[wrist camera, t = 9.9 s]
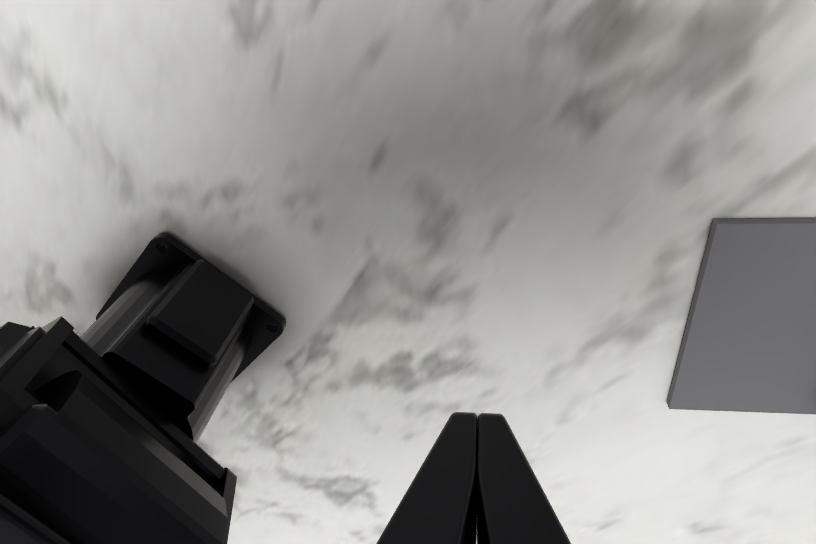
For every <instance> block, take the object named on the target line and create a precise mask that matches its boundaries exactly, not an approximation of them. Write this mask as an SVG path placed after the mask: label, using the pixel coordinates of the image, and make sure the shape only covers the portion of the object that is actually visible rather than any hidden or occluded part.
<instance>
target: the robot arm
mask: <svg viewBox="0 0 816 544" xmlns="http://www.w3.org/2000/svg"><path fill="white" fill-rule="evenodd" d="M161 243H163V244H165V245H166V246H167V247H168V249H167V248H165V247H163V246H162V244H161ZM270 323H274V324H276V325H277V326H273V325H271V324H270ZM285 326H286V321H285V319H284V318H283V317H282V316H281V315H280V314H279V313H277V312H276V311H274V310H273V309H272V308H270V307H269V306H268V305H266V304H265V303H264V302H262V301H261V300H259V299H258V298H257V297H255V296H254V295H253V294H251V293H250V292H249V291H247V290H246V289H244V288H243V287H242V286H240V285H239V284H238V283H236V282H235V281H234V280H232V279H231V278H229V277H228V276H227V275H225V274H224V273H223V272H221V271H220V270H219V269H217V268H216V267H214V266H213V265H212V264H210V263H209V262H208V261H206V260H205V259H203V258H202V257H201V256H199V255H198V254H197V253H195V252H194V251H193V250H191V249H190V248H188V247H187V246H186V245H184V244H183V243H182V242H180V241H179V240H178V239H176V238H175V237H173V236H172V235H170V234H168V233H159V234H158V235H157V236H155V237H154V238H153V239H152V240H151V242H150V243H149V244H148V246H147V247H146V248H145V250H144V251H143V253H142V254H141V255H140V257H139V258H138V259H137V261H136V262H135V264H134V265H133V266H132V268H131V269H130V270H129V272H128V273H127V275H126V276H125V277H124V279H123V280H122V281H121V283H120V284H119V286H118V287H117V288H116V290H115V291H114V292H113V294H112V295H111V297H110V298H109V299H108V301H107V302H106V303H105V305H104V306H103V308H102V309H101V310H100V312H99V313H98V314H97V316H96V321H95V322H94V323H93V324H92V325H91V326H90V328H89V329H88V330H87V331H86V332H85V333H84V334H83V335H82V336H81V337H79V336H78V335H77V334H76V333H75V332H73V331H72V330H73V329H74V327H73V326H71V325H70V324H69V323H68V322H67V321H66V320H65V319H64V318H63V317H62V316H61V317H59V318H58V319H56V320H54V321H53V322H51V323H49V324H48V325H46V326H44V327H43V328H41V327H37V328H35V327H34V326H32V327H27V326H23V325H20V324H16V323H12V322H7V323H6V324H4V325H3V326H1V327H0V544H227V540H228V534H229V527H230V520H231V514H232V507H233V500H234V494H235V487H236V480H237V476H236V475H234V474H233V473H232V472H231V471H230V470H229V469H228V468H223V467H222V466H221V465H220V464H218V463H217V462H216V461H215V460H214V459H213V458H212V457H211V456H210V455H209V454H207V453H206V452H205V451H204V450H203V449H202V448H201V447H200V446H199V445H198V444H196V443H197V441H198V439H199V438H200V436H201V434H202V432H203V431H204V429H205V427H206V425H207V423H208V422H209V420H210V418H211V416H212V414H213V413H214V411H215V409H216V407H217V405H218V404H219V402H220V400H221V398H222V396H223V395H224V393H225V391H226V389H227V388H228V386H229V384H230V383H231V382H232V381H233V380H234V379H235V378H236V377H237V376H238V375H239V374H240V373H241V372H242V371H243V370H244V369H245V368H246V367H247V366H248V365H249V364H250V363H251V362H253V361H254V360H255V359H256V358H257V357H258V356H259V355H260V354H261V353H262V352H263V351H264V350H265V349H266V348H267V347H268V346H269V345H270V344H271V343H272V342H273V341H274V340H276V339H277V338H278V337H279V336H280V335H281V334H282V332H283V330H284V328H285ZM476 539H477V544H571V543H570V541H569V539H568V537H567V535H566V533H565V531H564V529H563V527H562V525H561V524H560V522H559V520H558V518H557V516H556V514H555V512H554V510H553V508H552V506H551V505H550V503H549V501H548V499H547V497H546V495H545V493H544V491H543V489H542V487H541V485H540V484H539V482H538V480H537V478H536V476H535V474H534V472H533V470H532V468H531V466H530V465H529V463H528V461H527V459H526V457H525V455H524V453H523V451H522V449H521V447H520V445H519V444H518V442H517V440H516V438H515V436H514V434H513V432H512V430H511V428H510V426H509V425H508V423H507V421H506V419H505V417H504V416H503V415H501V414H492V413H481V414H479V416H478V417H477V415H476V414H475V413H467V412H454V413H453V414H452V415H451V416H450V418H449V419H448V421H447V423H446V425H445V426H444V428H443V430H442V432H441V433H440V435H439V437H438V438H437V440H436V442H435V444H434V445H433V447H432V449H431V450H430V452H429V454H428V456H427V457H426V459H425V461H424V463H423V464H422V466H421V468H420V469H419V471H418V473H417V475H416V476H415V478H414V480H413V482H412V483H411V485H410V487H409V488H408V490H407V492H406V494H405V495H404V497H403V499H402V500H401V502H400V504H399V506H398V507H397V509H396V511H395V513H394V514H393V516H392V518H391V519H390V521H389V523H388V525H387V526H386V528H385V530H384V531H383V533H382V535H381V537H380V538H379V540H378V542H377V544H476Z"/></svg>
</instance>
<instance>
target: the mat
mask: <svg viewBox="0 0 816 544" xmlns="http://www.w3.org/2000/svg"><path fill="white" fill-rule="evenodd" d="M667 404H668V407H669V409H687V410H714V411H741V412H769V413H796V414H816V218H762V219H713V222H712V226H711V230H710V233H709V237H708V241H707V245H706V249H705V253H704V257H703V261H702V265H701V269H700V273H699V277H698V281H697V285H696V289H695V293H694V297H693V300H692V304H691V308H690V312H689V316H688V320H687V324H686V328H685V332H684V336H683V340H682V344H681V348H680V352H679V356H678V360H677V364H676V367H675V371H674V375H673V379H672V383H671V387H670V391H669V395H668V399H667Z"/></svg>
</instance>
